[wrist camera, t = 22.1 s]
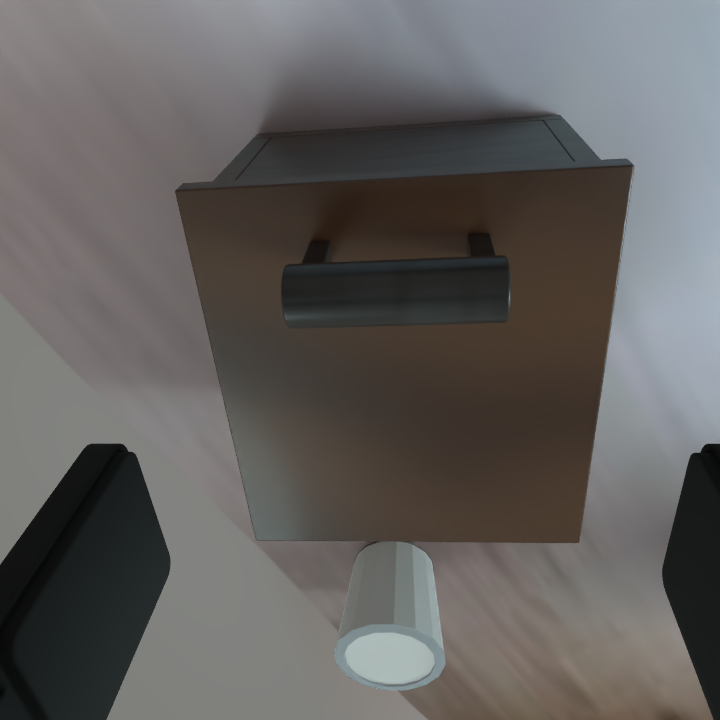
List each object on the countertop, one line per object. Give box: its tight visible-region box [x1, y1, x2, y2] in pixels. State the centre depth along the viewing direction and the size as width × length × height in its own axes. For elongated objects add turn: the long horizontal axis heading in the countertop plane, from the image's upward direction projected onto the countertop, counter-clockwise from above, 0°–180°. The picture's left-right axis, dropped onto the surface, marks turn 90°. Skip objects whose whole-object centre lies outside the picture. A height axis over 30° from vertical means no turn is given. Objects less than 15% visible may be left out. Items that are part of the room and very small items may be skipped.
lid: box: [175, 159, 634, 543], centre depth 22 cm, size 16×14×5 cm
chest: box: [213, 115, 601, 182], centre depth 28 cm, size 15×14×10 cm
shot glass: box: [334, 541, 446, 690], centre depth 42 cm, size 7×7×7 cm
